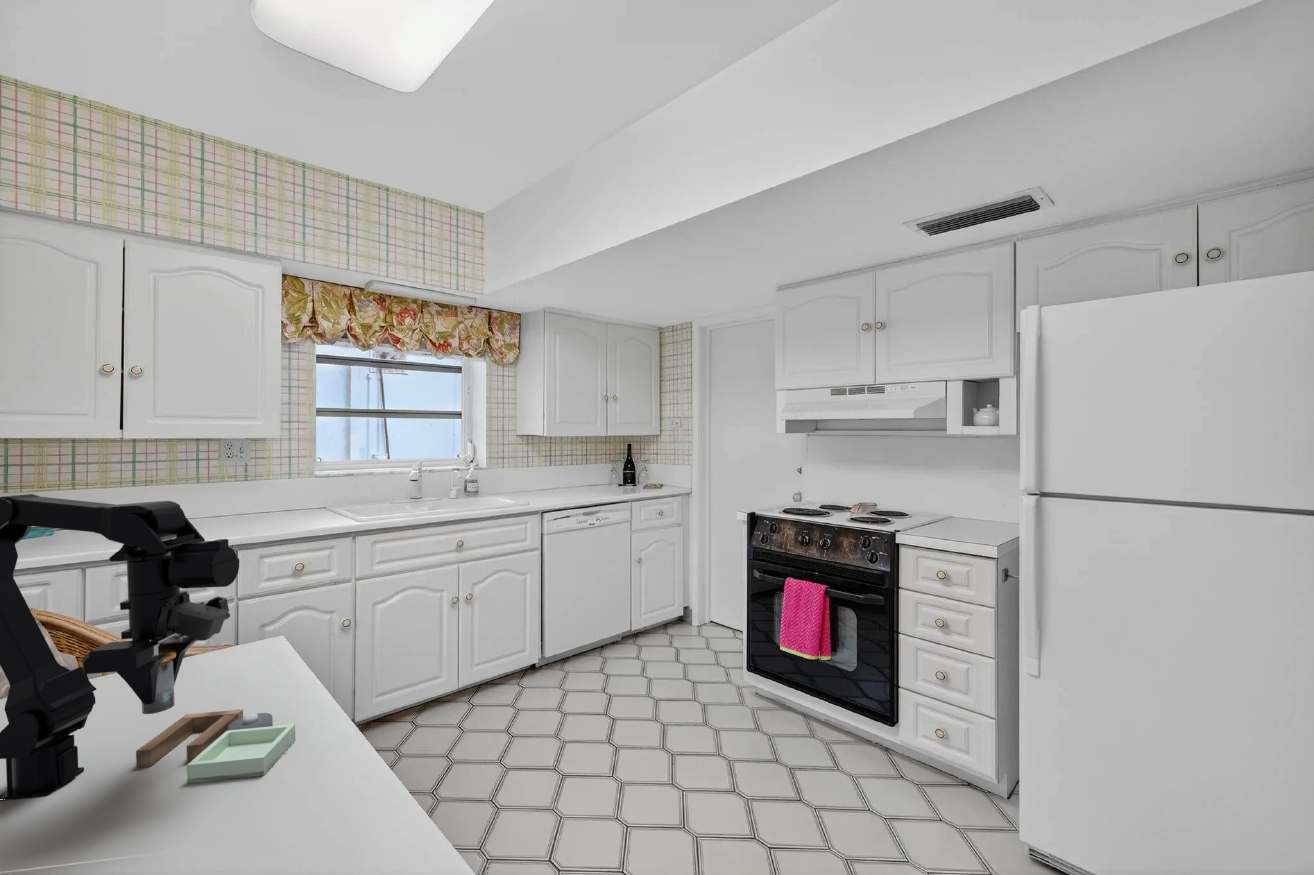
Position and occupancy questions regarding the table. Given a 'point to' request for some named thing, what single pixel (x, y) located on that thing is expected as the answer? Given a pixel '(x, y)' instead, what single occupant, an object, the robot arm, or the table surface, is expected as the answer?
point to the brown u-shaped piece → (187, 735)
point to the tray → (241, 754)
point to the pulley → (252, 721)
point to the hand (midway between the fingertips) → (158, 697)
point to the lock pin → (163, 685)
